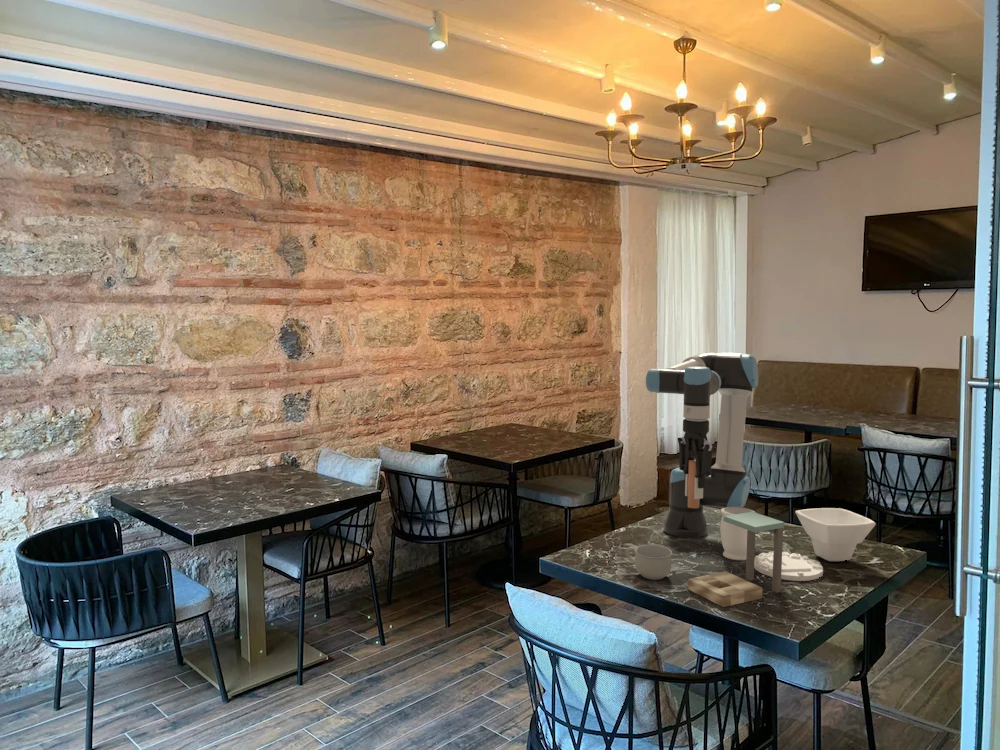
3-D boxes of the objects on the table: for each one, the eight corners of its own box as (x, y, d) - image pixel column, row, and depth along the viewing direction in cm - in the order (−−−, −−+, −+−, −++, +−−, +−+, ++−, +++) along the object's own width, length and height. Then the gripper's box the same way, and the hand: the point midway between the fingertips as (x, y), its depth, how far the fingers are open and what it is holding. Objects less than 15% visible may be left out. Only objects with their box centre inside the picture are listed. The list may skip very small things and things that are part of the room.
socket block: (687, 589, 208) (688, 578, 208) (725, 581, 214) (725, 571, 214) (723, 607, 196) (723, 596, 195) (762, 598, 202) (762, 587, 202)
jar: (719, 560, 233) (721, 513, 231) (719, 550, 243) (720, 505, 241) (755, 563, 230) (756, 516, 229) (753, 553, 240) (754, 507, 238)
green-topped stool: (721, 583, 212) (723, 516, 211) (749, 577, 217) (752, 511, 216) (752, 598, 202) (755, 527, 200) (781, 591, 207) (784, 522, 205)
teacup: (678, 576, 218) (679, 550, 217) (657, 586, 211) (658, 558, 210) (639, 564, 228) (640, 539, 227) (618, 573, 221) (618, 547, 220)
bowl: (825, 571, 223) (827, 526, 222) (788, 551, 242) (790, 509, 241) (879, 567, 227) (881, 523, 226) (838, 547, 246) (840, 506, 245)
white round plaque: (754, 579, 217) (755, 570, 217) (750, 557, 236) (751, 548, 236) (828, 586, 212) (828, 576, 212) (817, 563, 231) (818, 554, 231)
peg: (685, 506, 221) (686, 460, 219) (693, 504, 222) (695, 459, 221) (692, 509, 218) (694, 462, 216) (701, 507, 219) (703, 461, 218)
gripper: (668, 416, 223) (666, 491, 225) (705, 424, 208) (703, 505, 211) (687, 414, 226) (685, 489, 229) (725, 422, 212) (723, 501, 214)
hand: (693, 496), depth 220 cm, fingers closed on peg, 3 cm apart
